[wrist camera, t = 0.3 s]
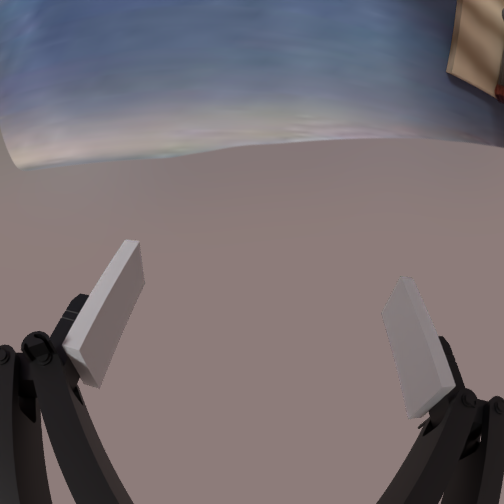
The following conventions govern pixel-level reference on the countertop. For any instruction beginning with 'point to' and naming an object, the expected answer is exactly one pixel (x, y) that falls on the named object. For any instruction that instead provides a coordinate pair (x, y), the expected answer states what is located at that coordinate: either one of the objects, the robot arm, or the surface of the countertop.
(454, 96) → the countertop surface
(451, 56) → the tan flat square sheet
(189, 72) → the countertop surface
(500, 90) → the lever
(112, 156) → the countertop surface
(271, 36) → the countertop surface
